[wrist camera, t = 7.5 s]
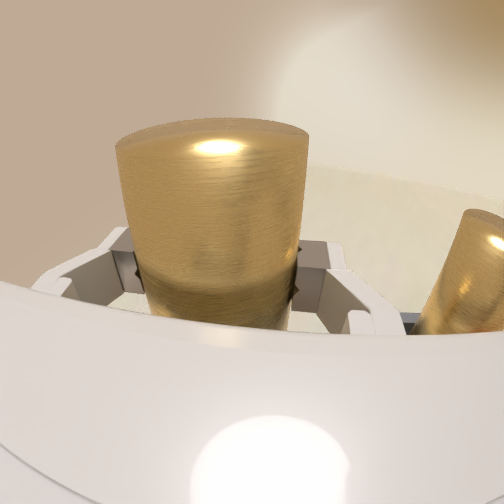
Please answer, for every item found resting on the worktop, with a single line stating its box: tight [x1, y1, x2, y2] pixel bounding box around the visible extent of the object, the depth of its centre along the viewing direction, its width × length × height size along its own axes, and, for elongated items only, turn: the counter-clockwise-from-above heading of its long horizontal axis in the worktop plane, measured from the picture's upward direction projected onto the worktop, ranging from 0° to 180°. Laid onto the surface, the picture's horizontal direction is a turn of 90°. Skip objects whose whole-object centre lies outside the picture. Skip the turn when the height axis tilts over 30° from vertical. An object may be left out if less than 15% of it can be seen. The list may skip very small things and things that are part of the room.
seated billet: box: [409, 209, 504, 335], centre depth 13 cm, size 5×5×11 cm
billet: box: [115, 118, 309, 331], centre depth 10 cm, size 5×5×11 cm
